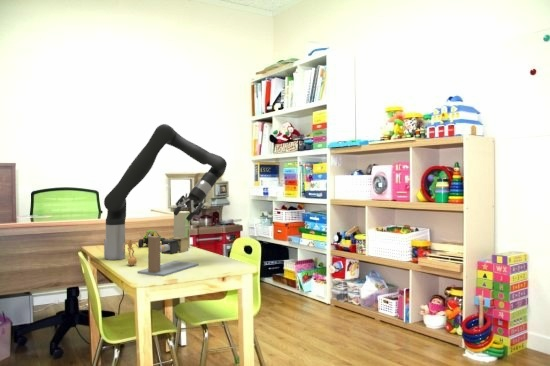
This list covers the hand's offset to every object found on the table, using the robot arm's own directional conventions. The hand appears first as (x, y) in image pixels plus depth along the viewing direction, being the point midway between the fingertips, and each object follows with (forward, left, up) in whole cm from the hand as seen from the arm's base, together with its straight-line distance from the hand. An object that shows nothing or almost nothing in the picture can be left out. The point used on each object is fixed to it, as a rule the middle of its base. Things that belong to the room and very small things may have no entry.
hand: (181, 217), depth 220 cm
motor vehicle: (-48, +38, -23) cm, 65 cm away
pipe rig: (+3, -11, -22) cm, 25 cm away
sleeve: (+3, -5, -15) cm, 16 cm away
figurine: (-18, -13, -22) cm, 32 cm away
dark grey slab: (+3, -12, -15) cm, 20 cm away
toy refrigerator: (-25, +37, -22) cm, 50 cm away
